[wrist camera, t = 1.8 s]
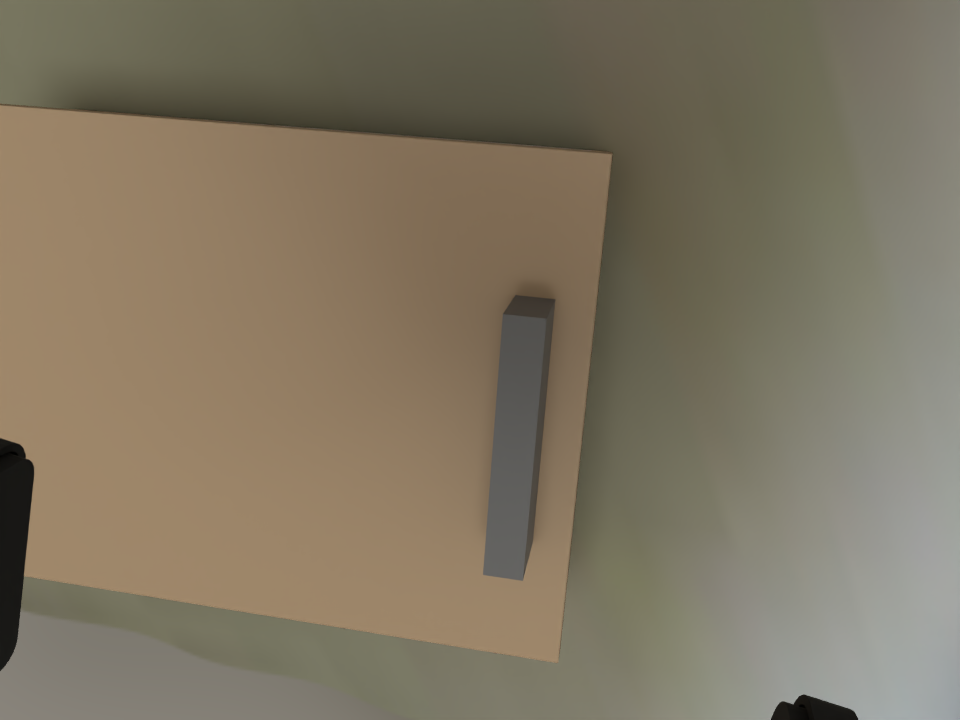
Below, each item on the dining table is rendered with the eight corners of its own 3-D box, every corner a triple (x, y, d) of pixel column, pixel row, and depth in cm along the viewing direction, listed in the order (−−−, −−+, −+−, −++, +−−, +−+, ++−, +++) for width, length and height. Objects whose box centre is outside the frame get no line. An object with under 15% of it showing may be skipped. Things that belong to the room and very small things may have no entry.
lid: (612, 152, 27) (608, 160, 23) (560, 649, 31) (550, 710, 28) (-30, 101, 30) (-110, 102, 26) (12, 560, 34) (-52, 607, 31)
